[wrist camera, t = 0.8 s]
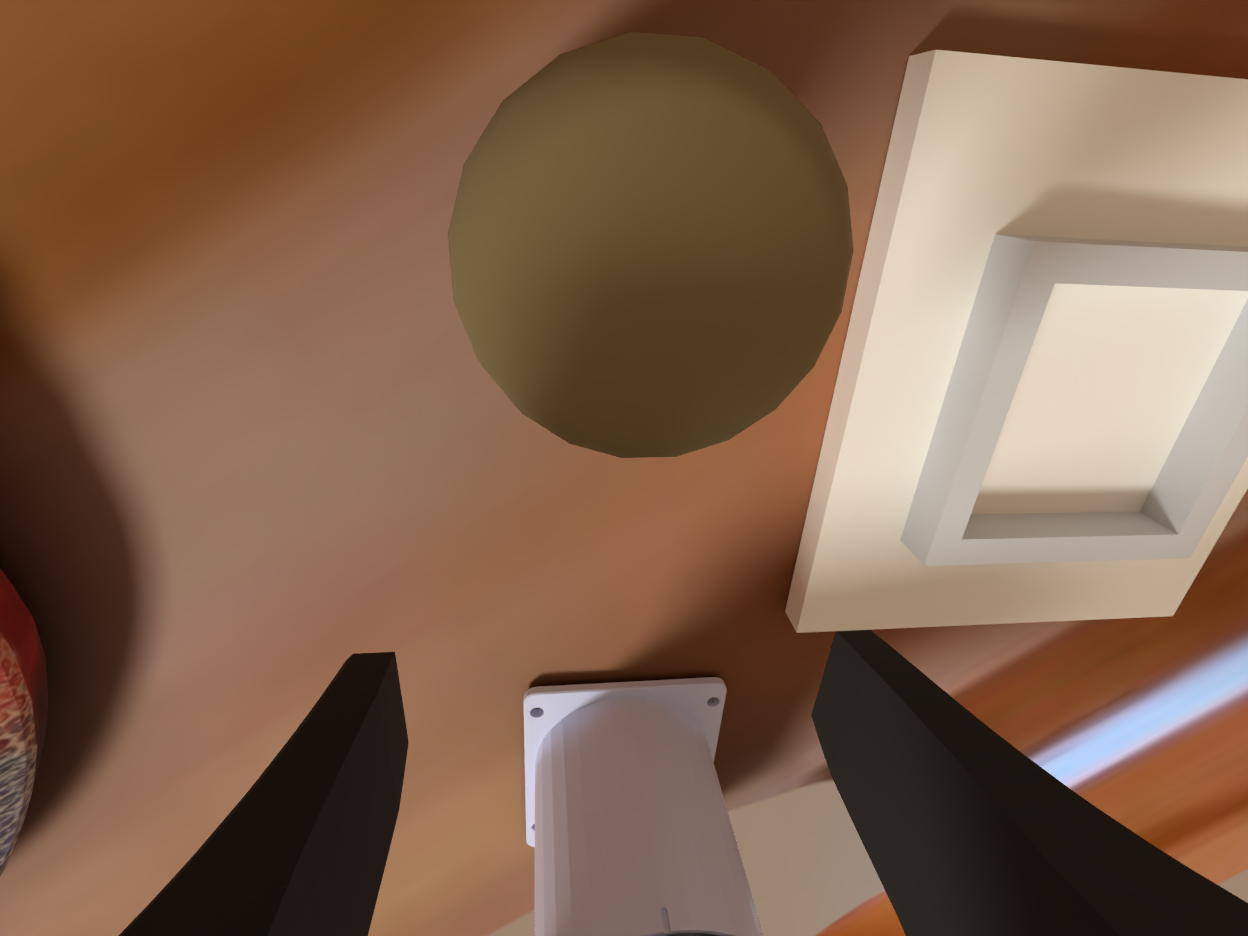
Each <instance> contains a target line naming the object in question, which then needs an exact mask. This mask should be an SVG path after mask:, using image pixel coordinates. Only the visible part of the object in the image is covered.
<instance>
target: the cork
mask: <svg viewBox="0 0 1248 936" xmlns="http://www.w3.org/2000/svg"><path fill="white" fill-rule="evenodd" d="M448 240H449V252H450V264H451V275H452V287H453V299H454V303H455V305H456V308H457V310H458V313H459V315H460V317H461V320H462V322H463V325H464V327H465V329H466V332H467V334H468V337H469V339H470V342H471V344H472V346H473V349H474V351H475V354H476V356H477V358H478V360H479V362H480V363H481V365H482V366H483V367H484V369H485V370H486V371H487V372H488V373H489V375H490V376H491V377H492V378H493V379H494V381H495V382H496V383H497V384H498V385H499V386H500V388H501V389H502V390H503V391H504V392H505V394H506V395H507V396H508V397H509V398H510V400H511V401H512V402H513V403H514V404H515V406H516V407H517V408H518V409H519V410H520V411H521V413H522V414H524V415H526V416H527V417H529V418H530V419H532V420H533V421H535V422H537V423H538V424H540V425H541V426H543V427H544V428H546V429H548V430H549V431H551V432H552V433H554V434H555V435H557V436H559V437H560V438H562V439H563V440H565V441H566V442H568V443H570V444H573V445H577V446H581V447H584V448H588V449H592V450H595V451H599V452H603V453H606V454H610V455H614V456H617V457H621V458H636V457H676V456H679V455H682V454H686V453H689V452H692V451H695V450H698V449H702V448H705V447H708V446H711V445H714V444H717V443H721V442H724V441H727V440H729V439H731V438H732V437H734V436H735V435H737V434H738V433H740V432H741V431H743V430H745V429H746V428H748V427H749V426H751V425H752V424H754V423H755V422H757V421H758V420H760V419H761V418H763V417H765V416H766V415H768V414H769V413H771V412H772V411H774V410H775V409H776V408H777V407H778V406H779V405H780V404H781V403H782V401H783V400H784V399H785V398H786V397H787V396H788V395H789V394H790V393H791V391H792V390H793V389H794V388H795V387H796V386H797V385H798V384H799V382H800V381H801V380H802V379H803V378H804V377H805V376H806V375H807V374H808V372H809V371H810V370H811V369H812V368H813V367H814V365H815V363H816V361H817V359H818V357H819V355H820V353H821V351H822V349H823V347H824V345H825V343H826V341H827V339H828V337H829V335H830V333H831V331H832V329H833V327H834V325H835V323H836V321H837V320H838V318H839V316H840V314H841V311H842V306H843V300H844V295H845V290H846V285H847V280H848V275H849V270H850V265H851V260H852V255H853V242H852V231H851V220H850V210H849V199H848V188H847V184H846V182H845V179H844V177H843V175H842V172H841V170H840V168H839V165H838V163H837V161H836V158H835V156H834V154H833V151H832V149H831V147H830V144H829V142H828V140H827V137H826V135H825V133H824V130H823V128H822V126H821V124H820V123H819V122H818V120H817V119H816V118H815V117H814V116H813V115H812V114H811V113H810V112H809V111H808V110H807V109H806V108H805V106H804V105H803V104H802V103H801V102H800V101H799V100H798V99H797V98H796V97H795V96H794V95H793V94H792V92H791V91H790V90H789V89H788V88H787V87H786V86H785V85H784V84H783V83H782V82H781V81H780V80H779V78H778V77H777V76H776V75H775V74H774V73H772V72H771V71H769V70H768V69H766V68H765V67H763V66H761V65H759V64H757V63H755V62H753V61H751V60H749V59H747V58H744V57H742V56H740V55H738V54H736V53H734V52H732V51H730V50H728V49H726V48H724V47H722V46H720V45H718V44H716V43H714V42H712V41H710V40H708V39H706V38H703V37H699V36H685V35H671V34H656V33H642V32H628V33H625V34H622V35H619V36H616V37H613V38H609V39H606V40H603V41H600V42H597V43H594V44H591V45H588V46H585V47H582V48H579V49H575V50H572V51H569V52H566V53H563V54H560V55H559V56H558V57H557V58H555V59H554V60H553V61H552V62H550V63H549V64H548V65H547V66H546V67H544V68H543V69H542V70H541V71H539V72H538V73H537V74H536V75H534V76H533V77H532V78H531V79H529V80H528V81H527V82H526V83H524V84H523V85H522V86H521V87H519V88H518V89H517V90H516V91H514V92H513V93H512V94H511V95H509V96H508V97H507V98H506V99H504V100H503V101H502V103H501V105H500V106H499V108H498V109H497V111H496V113H495V114H494V116H493V118H492V119H491V121H490V122H489V124H488V126H487V127H486V129H485V131H484V132H483V134H482V135H481V137H480V139H479V140H478V142H477V144H476V145H475V147H474V148H473V150H472V152H471V153H470V155H469V157H468V158H467V160H466V161H465V163H464V166H463V170H462V175H461V179H460V183H459V188H458V192H457V196H456V201H455V205H454V209H453V214H452V218H451V222H450V227H449V231H448Z"/></svg>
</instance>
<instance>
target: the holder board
mask: <svg viewBox="0 0 1248 936" xmlns="http://www.w3.org/2000/svg"><path fill="white" fill-rule="evenodd" d="M1247 489H1248V79H1238V78H1228V77H1217V76H1207V75H1196V74H1186V73H1175V72H1165V71H1155V70H1144V69H1134V68H1123V67H1113V66H1102V65H1092V64H1081V63H1071V62H1061V61H1050V60H1040V59H1029V58H1019V57H1008V56H998V55H988V54H977V53H967V52H956V51H946V50H932V51H928V52H924V53H920V54H916V55H912V56H909V59H908V63H907V68H906V72H905V77H904V81H903V86H902V90H901V95H900V99H899V104H898V108H897V113H896V117H895V122H894V126H893V131H892V135H891V139H890V144H889V148H888V153H887V157H886V162H885V166H884V171H883V175H882V180H881V184H880V189H879V193H878V198H877V202H876V207H875V211H874V216H873V220H872V224H871V229H870V233H869V238H868V242H867V247H866V251H865V256H864V260H863V265H862V269H861V274H860V278H859V283H858V287H857V292H856V296H855V301H854V305H853V309H852V314H851V318H850V323H849V327H848V332H847V336H846V341H845V345H844V350H843V354H842V359H841V363H840V368H839V372H838V377H837V381H836V386H835V390H834V394H833V399H832V403H831V408H830V412H829V417H828V421H827V426H826V430H825V435H824V439H823V444H822V448H821V453H820V457H819V462H818V466H817V471H816V475H815V479H814V484H813V488H812V493H811V497H810V502H809V506H808V511H807V515H806V520H805V524H804V529H803V533H802V538H801V542H800V547H799V551H798V556H797V560H796V564H795V569H794V573H793V578H792V582H791V587H790V591H789V596H788V600H787V605H786V609H785V612H786V614H787V616H788V618H789V620H790V622H791V623H792V625H793V627H794V629H795V631H796V633H805V632H828V631H850V630H873V629H895V628H917V627H940V626H962V625H985V624H1007V623H1029V622H1052V621H1074V620H1097V619H1119V618H1141V617H1164V616H1173V615H1174V613H1175V612H1176V610H1177V608H1178V607H1179V605H1180V603H1181V601H1182V600H1183V598H1184V596H1185V595H1186V593H1187V591H1188V589H1189V588H1190V586H1191V584H1192V583H1193V581H1194V579H1195V578H1196V576H1197V574H1198V572H1199V571H1200V569H1201V567H1202V566H1203V564H1204V562H1205V560H1206V559H1207V557H1208V555H1209V554H1210V552H1211V550H1212V548H1213V547H1214V545H1215V543H1216V542H1217V540H1218V538H1219V537H1220V535H1221V533H1222V531H1223V530H1224V528H1225V526H1226V525H1227V523H1228V521H1229V519H1230V518H1231V516H1232V514H1233V513H1234V511H1235V509H1236V508H1237V506H1238V504H1239V502H1240V501H1241V499H1242V497H1243V496H1244V494H1245V492H1246V490H1247Z"/></svg>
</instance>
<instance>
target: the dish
mask: <svg viewBox="0 0 1248 936" xmlns="http://www.w3.org/2000/svg"><path fill="white" fill-rule="evenodd" d="M47 716H48V686H47V672H46V658H45V653H44V650H43V646H42V643H41V640H40V637H39V634H38V631H37V627H36V624H35V621H34V618H33V616H32V615H31V613H30V611H29V610H28V608H27V607H26V605H25V604H24V602H23V600H22V599H21V597H20V596H19V594H18V593H17V591H16V589H15V588H14V586H13V585H12V583H11V582H10V581H9V579H8V578H7V577H6V575H5V574H4V572H3V571H2V570H1V568H0V876H1V874H2V872H3V870H4V868H5V867H6V865H7V863H8V861H9V858H10V856H11V854H12V851H13V849H14V846H15V844H16V841H17V839H18V837H19V834H20V832H21V829H22V827H23V823H24V820H25V816H26V813H27V809H28V806H29V802H30V798H31V795H32V791H33V786H34V780H35V777H36V773H37V770H38V766H39V763H40V760H41V756H42V753H43V748H44V740H45V732H46V724H47Z"/></svg>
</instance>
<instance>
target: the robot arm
mask: <svg viewBox="0 0 1248 936" xmlns="http://www.w3.org/2000/svg"><path fill="white" fill-rule="evenodd" d="M726 692H727V689H726V685H725V683H724V681H723V680H722V679H721V678H718V677H706V678H687V679H669V680H650V681H632V682H613V683H595V684H576V685H558V686H539V687H532V688H530V689H528V690H527V691H526V692H525V694H524V748H525V797H526V841H527V844H528V845H530V846H532V847H535V936H763V932H762V928H761V925H760V921H759V918H758V915H757V911H756V908H755V904H754V901H753V897H752V894H751V890H750V887H749V884H748V880H747V877H746V873H745V870H744V866H743V863H742V859H741V856H740V853H739V849H738V846H737V842H736V839H735V835H734V832H733V828H732V825H731V821H730V818H729V814H728V811H727V808H726V804H725V801H724V797H723V794H722V790H721V787H720V783H719V780H718V777H717V773H716V770H715V766H714V758H715V752H716V747H717V741H718V736H719V730H720V725H721V720H722V714H723V709H724V703H725V698H726ZM713 697H714V698H713ZM710 698H712V699H710ZM533 708H540V709H533ZM811 716H812V719H813V722H814V725H815V728H816V731H817V734H818V738H819V741H820V744H821V747H822V750H823V753H824V756H825V759H826V761H827V764H828V767H829V770H830V773H831V776H832V778H833V780H834V782H835V784H836V787H837V789H838V791H839V793H840V795H841V798H842V800H843V802H844V804H845V806H846V808H847V810H848V813H849V815H850V817H851V819H852V821H853V823H854V825H855V828H856V830H857V832H858V834H859V836H860V838H861V840H862V842H863V844H864V846H865V849H866V851H867V853H868V855H869V857H870V859H871V861H872V863H873V865H874V868H875V870H876V872H877V874H878V876H879V878H880V880H881V882H882V884H883V886H884V889H885V891H886V893H887V895H888V897H889V899H890V901H891V903H892V905H893V908H894V910H895V912H896V914H897V916H898V918H899V921H900V923H901V925H902V927H903V930H904V932H905V934H906V936H1248V903H1246V902H1245V901H1243V900H1242V899H1240V898H1238V897H1236V896H1235V895H1233V894H1232V893H1230V892H1228V891H1226V890H1225V889H1223V888H1221V887H1220V886H1218V885H1216V884H1215V883H1213V882H1211V881H1210V880H1208V879H1206V878H1205V877H1203V876H1201V875H1200V874H1198V873H1196V872H1195V871H1193V870H1191V869H1190V868H1188V867H1187V866H1185V865H1183V864H1182V863H1180V862H1179V861H1177V860H1175V859H1174V858H1172V857H1171V856H1169V855H1167V854H1166V853H1164V852H1163V851H1161V850H1160V849H1158V848H1156V847H1155V846H1153V845H1152V844H1150V843H1149V842H1147V841H1146V840H1144V839H1143V838H1141V837H1140V836H1138V835H1137V834H1135V833H1134V832H1132V831H1131V830H1129V829H1128V828H1126V827H1125V826H1123V825H1122V824H1120V823H1119V822H1117V821H1116V820H1114V819H1113V818H1111V817H1110V816H1108V815H1107V814H1105V813H1104V812H1102V811H1101V810H1099V809H1098V808H1096V807H1095V806H1093V805H1092V804H1091V803H1089V802H1088V801H1086V800H1085V799H1083V798H1082V797H1081V796H1079V795H1078V794H1076V793H1075V792H1073V791H1072V790H1071V789H1069V788H1068V787H1067V786H1065V785H1064V784H1062V783H1061V782H1060V781H1058V780H1057V779H1056V778H1054V777H1053V776H1052V775H1050V774H1049V773H1048V772H1046V771H1045V770H1044V769H1042V768H1041V767H1040V766H1038V765H1037V764H1036V763H1034V762H1033V761H1032V760H1030V759H1029V758H1027V757H1026V756H1025V755H1023V754H1022V753H1021V752H1020V751H1018V750H1017V749H1016V748H1014V747H1013V746H1012V745H1011V744H1009V743H1008V742H1007V741H1005V740H1004V739H1003V738H1002V737H1000V736H999V735H998V734H996V733H995V732H994V731H993V730H991V729H990V728H989V727H988V726H986V725H985V724H984V723H983V722H981V721H980V720H979V719H978V718H976V717H975V716H974V715H973V714H972V713H970V712H969V711H968V710H967V709H965V708H964V707H963V706H962V705H960V704H959V703H958V702H957V701H956V700H954V699H953V698H952V697H951V696H950V695H948V694H947V693H946V692H945V691H943V690H942V689H941V688H940V687H939V686H938V685H936V684H935V683H934V682H933V681H932V680H930V679H929V678H928V677H927V676H926V675H924V674H923V673H922V672H921V671H920V670H918V669H917V668H916V667H915V666H914V665H912V664H911V663H910V662H909V661H908V660H906V659H905V658H904V657H903V656H902V655H900V654H899V653H898V652H897V651H896V650H894V649H893V648H892V647H891V646H889V645H888V644H887V643H886V642H884V641H883V640H882V639H881V638H879V637H878V636H877V635H876V634H874V633H873V632H872V631H870V630H856V631H836V633H835V637H834V640H833V643H832V647H831V650H830V654H829V657H828V660H827V664H826V667H825V671H824V674H823V677H822V681H821V684H820V688H819V691H818V694H817V698H816V701H815V705H814V708H813V711H812V715H811ZM407 749H408V736H407V729H406V723H405V716H404V709H403V703H402V696H401V690H400V683H399V676H398V670H397V663H396V657H395V652H383V653H362V654H353V655H352V656H350V657H349V658H348V659H347V660H346V661H345V663H344V664H343V666H342V667H341V669H340V670H339V672H338V673H337V674H336V676H335V677H334V679H333V680H332V682H331V683H330V684H329V686H328V687H327V689H326V690H325V692H324V693H323V694H322V696H321V697H320V699H319V700H318V701H317V703H316V704H315V705H314V707H313V708H312V710H311V711H310V712H309V714H308V715H307V716H306V718H305V719H304V720H303V722H302V723H301V724H300V726H299V727H298V728H297V730H296V731H295V732H294V734H293V735H292V736H291V738H290V739H289V740H288V742H287V743H286V744H285V745H284V747H283V748H282V749H281V750H280V752H279V753H278V754H277V756H276V757H275V758H274V759H273V761H272V762H271V763H270V765H269V766H268V767H267V768H266V770H265V771H264V772H263V773H262V775H261V776H260V777H259V779H258V780H257V781H256V782H255V784H254V785H253V786H252V787H251V789H250V790H249V791H248V792H247V793H246V795H245V796H244V797H243V798H242V799H241V801H240V802H239V803H238V804H237V805H236V806H235V808H234V809H233V810H232V811H231V812H230V813H229V815H228V816H227V817H226V818H225V819H224V820H223V822H222V823H221V824H220V825H219V826H218V827H217V829H216V830H215V831H214V832H213V833H212V835H211V836H210V837H209V838H208V839H207V840H206V842H205V843H204V844H203V845H202V846H201V847H200V849H199V850H198V851H197V852H196V853H195V854H194V855H193V857H192V858H191V859H190V860H189V861H188V862H187V863H186V864H185V865H184V867H183V868H182V869H181V870H180V871H179V872H178V873H177V874H176V875H175V876H174V878H173V879H172V880H171V881H170V882H169V883H168V884H167V885H166V886H165V887H164V889H163V890H162V891H161V892H160V893H159V894H158V895H157V896H156V897H155V898H154V899H153V900H152V901H151V902H150V904H149V905H148V906H147V907H146V908H145V909H144V910H143V911H142V912H141V913H140V914H139V915H138V916H137V917H136V918H135V919H134V920H133V921H132V922H131V923H130V924H129V925H128V926H127V928H126V929H125V930H124V931H123V932H122V933H121V934H120V935H119V936H368V932H369V928H370V924H371V920H372V916H373V912H374V908H375V904H376V900H377V896H378V892H379V888H380V884H381V881H382V877H383V873H384V869H385V865H386V861H387V856H388V852H389V848H390V844H391V840H392V836H393V832H394V828H395V824H396V820H397V816H398V812H399V806H400V799H401V792H402V785H403V779H404V771H405V764H406V756H407Z"/></svg>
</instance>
